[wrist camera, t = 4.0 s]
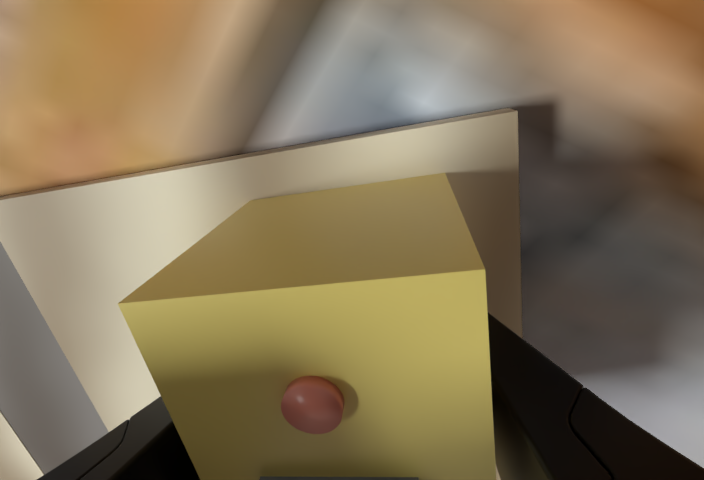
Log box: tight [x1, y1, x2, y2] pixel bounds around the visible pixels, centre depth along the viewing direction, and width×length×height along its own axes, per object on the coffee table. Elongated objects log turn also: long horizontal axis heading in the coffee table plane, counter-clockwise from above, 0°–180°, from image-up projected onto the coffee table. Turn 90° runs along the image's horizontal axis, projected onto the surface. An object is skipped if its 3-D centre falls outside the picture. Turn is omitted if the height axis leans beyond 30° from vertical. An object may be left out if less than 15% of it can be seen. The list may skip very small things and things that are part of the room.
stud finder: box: [118, 173, 496, 480], centre depth 8 cm, size 4×7×5 cm, turn 10°
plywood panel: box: [0, 108, 522, 480], centre depth 12 cm, size 20×14×1 cm
